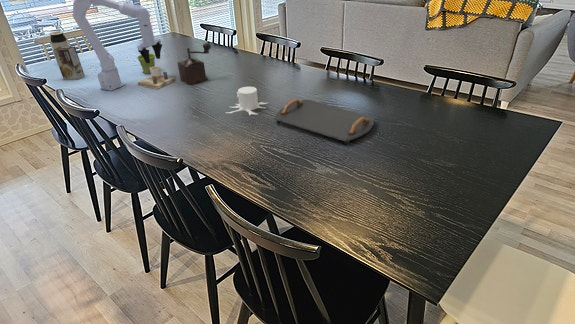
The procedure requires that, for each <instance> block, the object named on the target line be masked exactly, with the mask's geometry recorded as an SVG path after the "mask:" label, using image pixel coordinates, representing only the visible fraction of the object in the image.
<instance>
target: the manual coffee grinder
mask: <svg viewBox="0 0 575 324" xmlns="http://www.w3.org/2000/svg"><path fill="white" fill-rule="evenodd" d="M202 48H203V51H195V50H194V51H192V50H190V48H189V47H187V48H186V53H187V56H188V58H186V59H184V60H183V61H177V68H178V74H179V80H180V81H181V82H183V83H184V84H186V85H188V86H190V85H194V84H198V83H201V82H204V81H207V80H208V79H207V76H206V68H205V63H204V62H203V61H202V60H199V59H197V58H193V57H191V54H201V55H202V54H203V55H205V54H206V55H207V54H210V49H211V48H212V46H211V44H210V43H207V42H205V43H203V44H202Z"/></svg>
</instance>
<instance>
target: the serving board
mask: <svg viewBox="0 0 575 324" xmlns="http://www.w3.org/2000/svg"><path fill="white" fill-rule="evenodd" d="M273 120H275V121H276V123H277V124H281V123H284V124H286V125H291V126H292V127H293V126H294V127H296V128H300V129H304V130H306V131H310V132H313V133H315V134H320V135H322V136H326V137H329V138H332V139H335V140H338V141H339V140H340V141H342V142H343V144H344V145H349V144H350V143H351V142H350V141H353V140H355V139H358V138H360V137H362V136H363V135H365V134H367V133H369V131H371V129H372V128H373V126H374V125H375V117H373V116H371V115H368V114H365V113H361V112H357V111H354V110H348V109H345V108H342V107H338V106H334V105H330V104H327V103H322V102H319V101H318V102H317V101H315V100H310V99H302V100H299V99H297V98H294V99H292V100H291V101H288V102H287V103H286V104H285V106H284V107H282V108H281V109H280V110H279V111H278V112H276V115H275V116H274V118H273Z"/></svg>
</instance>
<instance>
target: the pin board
mask: <svg viewBox="0 0 575 324" xmlns="http://www.w3.org/2000/svg"><path fill="white" fill-rule="evenodd" d="M174 82H176V79H175V77H172V76H169V75H168V73H167V71H163V72H162V78H159V79H156V76H150V77H147V78H145V79H143V80H140V81H138V82H137V86H139V87H144V88H149V89H154V90H158V89H160V88H163V87H165V86H167V85H169V84H172V83H174Z"/></svg>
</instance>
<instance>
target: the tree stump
mask: <svg viewBox="0 0 575 324" xmlns="http://www.w3.org/2000/svg"><path fill="white" fill-rule="evenodd" d="M235 93H236V94H237V96H236V98H238V101H236V103H235V106H230V108H234V109H236V108H237V109H236V110H233V111H230V112H229V111H227V112H226V111H225V114H233V113H235V112H242V111H245V112H247V113H248V116H251V115H257V112H254V111H255V110H256V109H266V107H264V106H262V105H267V104H269V102H263V101H261V102H259V101H258V100H259V99H258V90H257V88H256V87H255V86H243V87H240V88H238V89H237V91H235ZM237 102H238V103H237ZM253 110H254V111H253Z"/></svg>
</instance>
